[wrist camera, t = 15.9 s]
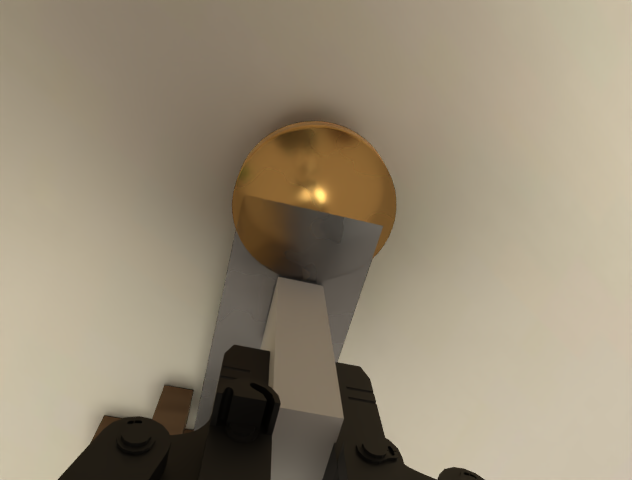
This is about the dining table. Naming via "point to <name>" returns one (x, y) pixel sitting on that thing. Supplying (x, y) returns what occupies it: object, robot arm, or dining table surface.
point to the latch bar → (300, 232)
